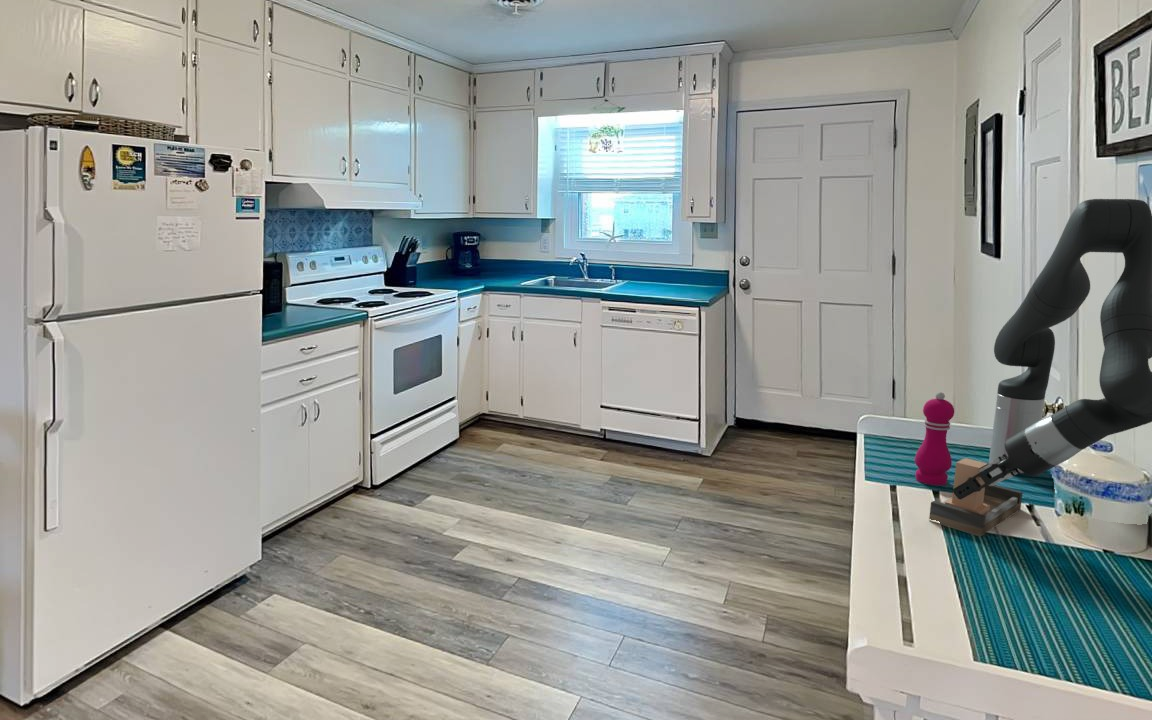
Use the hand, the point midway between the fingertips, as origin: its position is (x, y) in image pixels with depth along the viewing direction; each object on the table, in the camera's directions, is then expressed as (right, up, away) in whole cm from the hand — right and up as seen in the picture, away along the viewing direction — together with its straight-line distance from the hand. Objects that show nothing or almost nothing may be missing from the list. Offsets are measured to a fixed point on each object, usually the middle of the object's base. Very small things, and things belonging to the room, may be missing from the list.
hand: (965, 489), depth 131 cm
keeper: (0, -5, 0) cm, 5 cm away
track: (+4, -6, +4) cm, 8 cm away
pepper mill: (+5, -2, +23) cm, 23 cm away
